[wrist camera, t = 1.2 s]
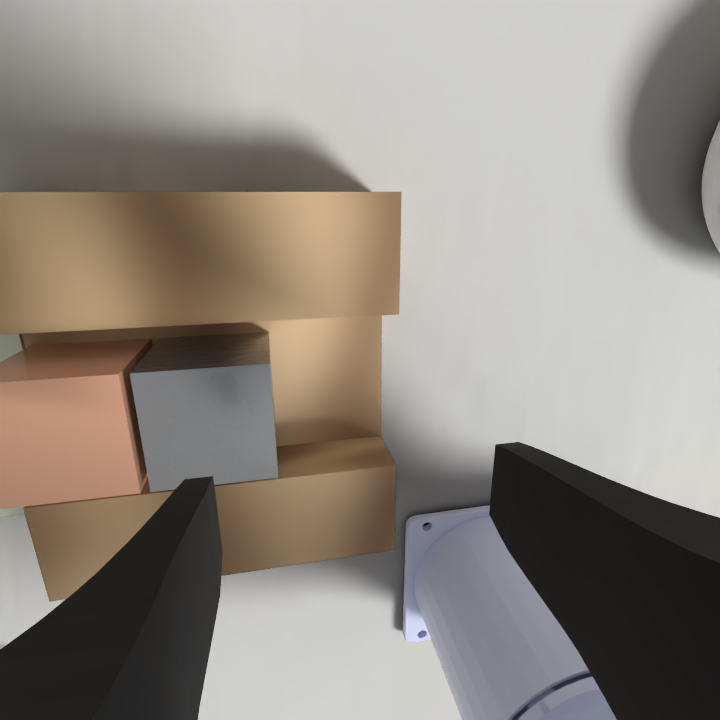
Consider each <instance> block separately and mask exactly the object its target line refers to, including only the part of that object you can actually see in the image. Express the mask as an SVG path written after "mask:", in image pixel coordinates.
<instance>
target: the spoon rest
mask: <svg viewBox="0 0 720 720" xmlns="http://www.w3.org/2000/svg"><path fill="white" fill-rule="evenodd" d="M702 203H703V212H704V216H705V220H706V224H707V227H708V230H709V233H710V235H711V238H712V240H713V242H714V244H715V246H716V248H717V249H718V251H719V253H720V121H719V123H718V125H717V128H716V130H715V133H714V135H713V138H712V140H711V143H710V146H709V149H708V153H707V156H706V160H705V165H704V170H703V175H702Z"/></svg>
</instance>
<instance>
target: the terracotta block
mask: <svg viewBox="0 0 720 720" xmlns="http://www.w3.org/2000/svg"><path fill="white" fill-rule="evenodd" d="M151 348H152V341H151V338H149V339H131V340H113V341H95V342H77V343H59V344H41V345H30V346H28V347H27V348H25V349H23V350H21V351H20V352H18V353H16V354H14V355H13V356H11V357H9V358H7V359H5V360H4V361H2V362H0V509H7V508H16V507H24V506H33V505H42V504H51V503H60V502H68V501H77V500H86V499H95V498H104V497H112V496H121V495H130V494H139V493H141V491H142V489H143V486H144V484H145V482H146V480H147V477H148V475H147V469H146V464H145V458H144V452H143V447H142V441H141V435H140V430H139V424H138V418H137V413H136V407H135V401H134V396H133V390H132V384H131V379H130V372H131V371H132V370H133V369H134V368H135V367H136V365H137V364H138V363H139V362H140V361H141V359H142V358H143V357H144V356H145V355H146V353H147V352H148V351H149V350H150V349H151Z"/></svg>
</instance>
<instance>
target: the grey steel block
mask: <svg viewBox="0 0 720 720" xmlns="http://www.w3.org/2000/svg"><path fill="white" fill-rule="evenodd" d="M130 379H131V384H132V390H133V396H134V401H135V407H136V413H137V418H138V424H139V430H140V435H141V441H142V447H143V452H144V458H145V464H146V469H147V475H148V481H149V486H150V492H156V491H165V490H174V489H176V488H177V487H178V486H179V485H180V484H181V483H182V482H183V480H184V479H191V478H200V477H209V476H213V479H214V485H218V484H227V483H235V482H244V481H253V480H262V479H270V478H278V461H277V440H276V422H275V408H274V394H273V380H272V367H271V353H270V339H269V332H257V333H239V334H221V335H203V336H185V337H167V338H159V339H158V340H157V342H156V343H155V344H154V345H153V346H152V348H151V349H150V350H149V351H148V352H147V353H146V355H145V356H144V357H143V358H142V359H141V361H140V362H139V363H138V364H137V365H136V367H135V368H134V369H133V370H132V371H131V372H130Z"/></svg>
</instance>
